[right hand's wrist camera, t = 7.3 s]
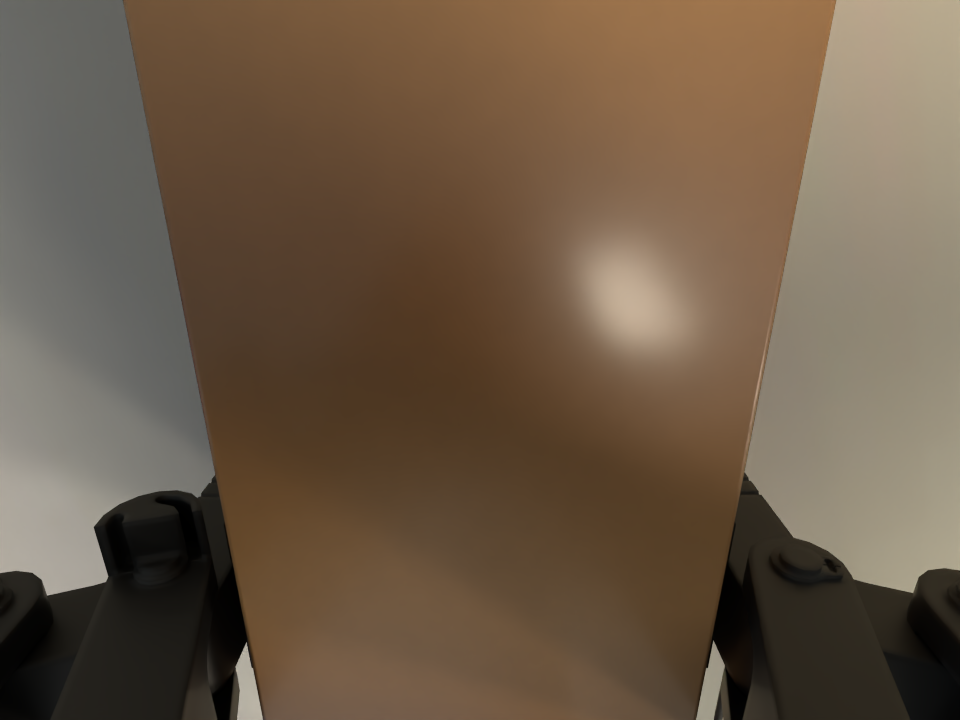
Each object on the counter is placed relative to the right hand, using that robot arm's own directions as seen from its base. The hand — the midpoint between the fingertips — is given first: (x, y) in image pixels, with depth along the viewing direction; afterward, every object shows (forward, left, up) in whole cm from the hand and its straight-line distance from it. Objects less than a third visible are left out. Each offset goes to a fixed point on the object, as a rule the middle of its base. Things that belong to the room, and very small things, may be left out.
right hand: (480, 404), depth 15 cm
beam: (+9, -16, -1) cm, 19 cm away
